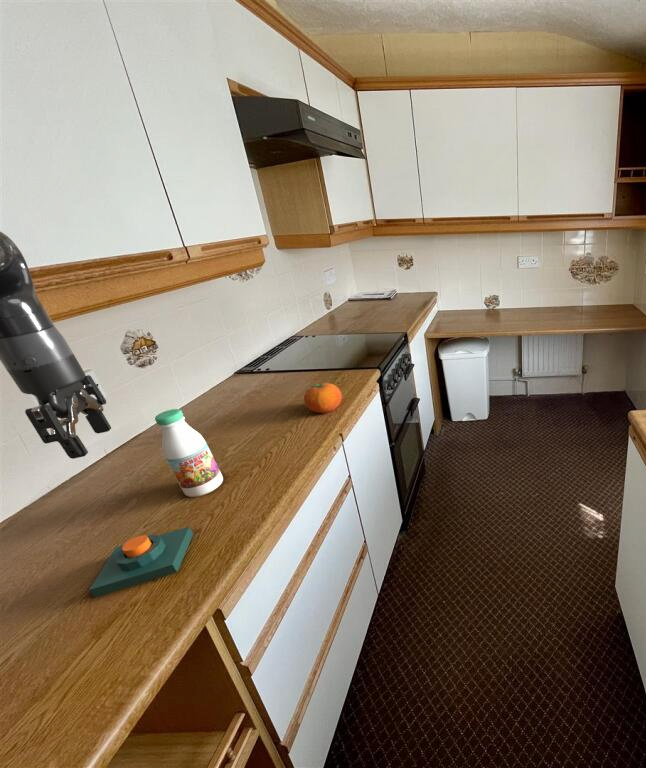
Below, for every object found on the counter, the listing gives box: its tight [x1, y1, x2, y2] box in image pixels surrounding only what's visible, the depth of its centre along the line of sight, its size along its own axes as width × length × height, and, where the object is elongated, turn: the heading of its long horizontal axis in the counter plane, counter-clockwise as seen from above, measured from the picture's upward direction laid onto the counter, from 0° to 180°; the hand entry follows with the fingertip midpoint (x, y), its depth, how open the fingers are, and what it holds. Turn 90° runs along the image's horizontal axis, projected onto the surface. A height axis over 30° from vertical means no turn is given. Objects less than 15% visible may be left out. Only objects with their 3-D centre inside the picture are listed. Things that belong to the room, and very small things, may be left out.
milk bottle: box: [154, 408, 224, 498], centre depth 91 cm, size 8×8×20 cm
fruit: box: [303, 382, 343, 414], centre depth 125 cm, size 11×10×8 cm
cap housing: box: [88, 526, 194, 598], centre depth 75 cm, size 12×10×4 cm
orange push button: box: [122, 534, 152, 558], centre depth 74 cm, size 4×4×2 cm
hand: (92, 443), depth 71 cm, fingers open, 8 cm apart
